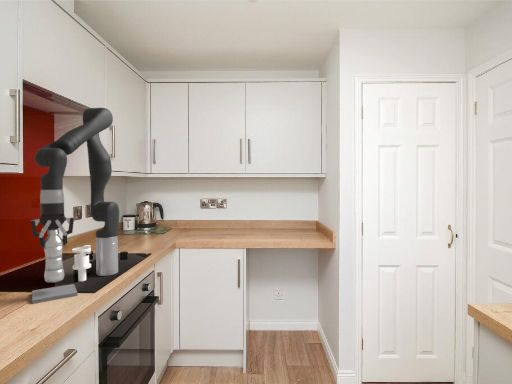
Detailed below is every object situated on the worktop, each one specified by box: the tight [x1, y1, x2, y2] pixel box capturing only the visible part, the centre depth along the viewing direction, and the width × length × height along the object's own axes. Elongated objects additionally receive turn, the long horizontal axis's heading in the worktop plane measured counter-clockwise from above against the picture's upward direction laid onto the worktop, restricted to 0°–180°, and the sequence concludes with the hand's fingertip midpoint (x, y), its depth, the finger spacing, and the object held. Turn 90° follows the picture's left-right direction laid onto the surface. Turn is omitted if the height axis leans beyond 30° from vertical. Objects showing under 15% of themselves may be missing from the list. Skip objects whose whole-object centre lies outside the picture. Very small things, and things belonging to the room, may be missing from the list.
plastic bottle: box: [43, 228, 65, 284], centre depth 123 cm, size 6×7×20 cm
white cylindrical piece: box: [71, 244, 92, 282], centre depth 141 cm, size 7×7×15 cm
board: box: [31, 283, 78, 304], centre depth 124 cm, size 12×14×1 cm
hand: (53, 246), depth 123 cm, fingers closed on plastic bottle, 6 cm apart
